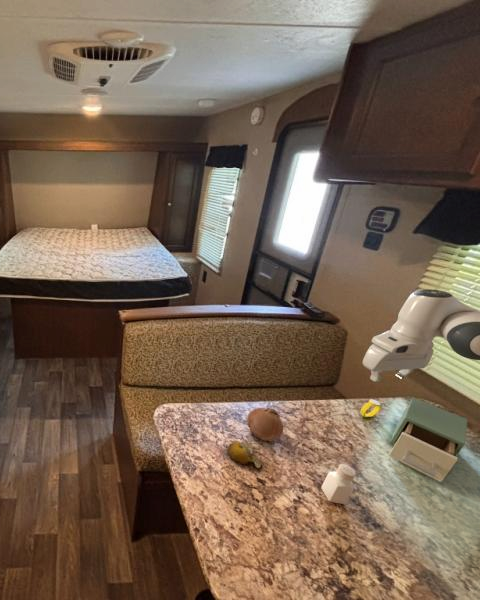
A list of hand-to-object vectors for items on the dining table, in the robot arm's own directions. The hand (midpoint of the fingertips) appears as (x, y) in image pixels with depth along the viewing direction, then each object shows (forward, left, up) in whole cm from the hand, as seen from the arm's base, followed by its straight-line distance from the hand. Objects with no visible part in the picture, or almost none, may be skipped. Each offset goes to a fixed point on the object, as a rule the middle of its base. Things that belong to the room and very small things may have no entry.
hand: (386, 379), depth 99 cm
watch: (0, 0, -15) cm, 15 cm away
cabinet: (-12, -5, -15) cm, 20 cm away
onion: (-3, +42, -15) cm, 45 cm away
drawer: (-17, +4, -14) cm, 23 cm away
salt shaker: (-23, +37, -15) cm, 46 cm away
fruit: (-10, +52, -15) cm, 55 cm away
